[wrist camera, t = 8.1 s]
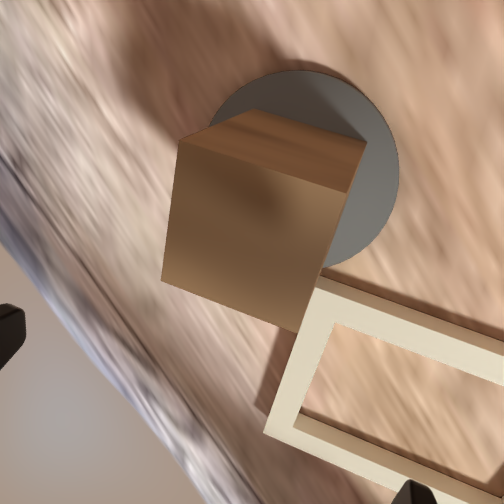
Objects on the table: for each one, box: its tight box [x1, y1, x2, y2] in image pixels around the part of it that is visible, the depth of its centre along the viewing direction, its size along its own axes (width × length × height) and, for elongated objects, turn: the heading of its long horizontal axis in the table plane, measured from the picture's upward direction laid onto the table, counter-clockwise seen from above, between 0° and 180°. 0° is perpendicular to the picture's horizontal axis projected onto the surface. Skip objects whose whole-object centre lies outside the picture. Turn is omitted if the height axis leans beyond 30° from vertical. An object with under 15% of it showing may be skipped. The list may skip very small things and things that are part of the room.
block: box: [161, 109, 367, 334], centre depth 16 cm, size 5×5×7 cm
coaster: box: [208, 70, 399, 268], centre depth 19 cm, size 9×9×1 cm
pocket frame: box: [263, 275, 504, 504], centre depth 22 cm, size 11×15×1 cm
